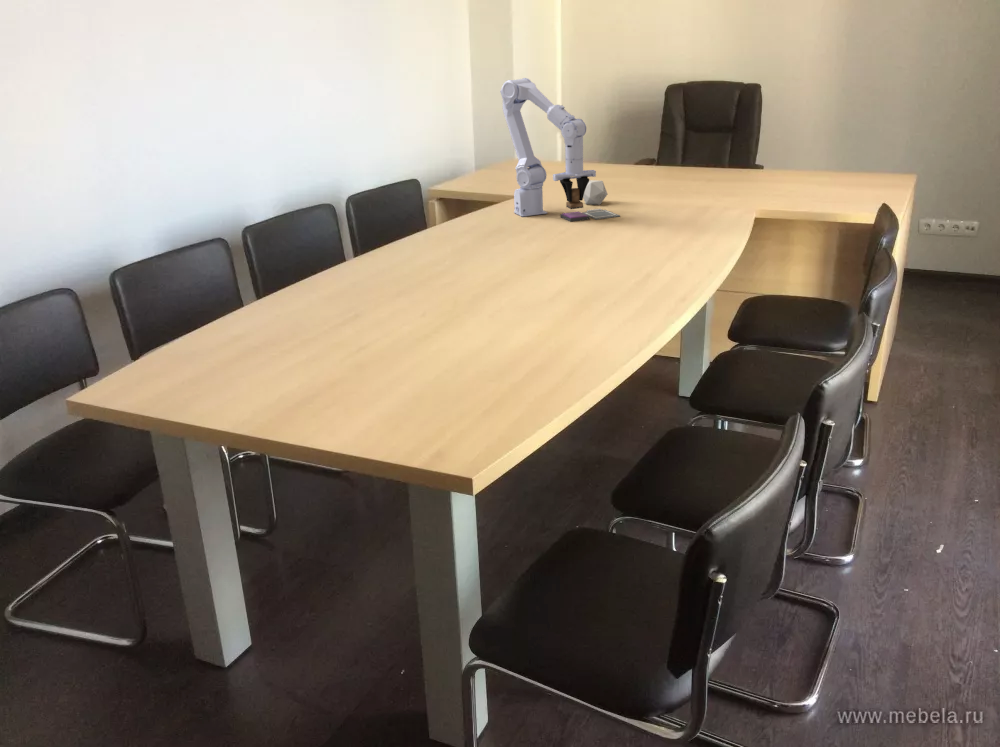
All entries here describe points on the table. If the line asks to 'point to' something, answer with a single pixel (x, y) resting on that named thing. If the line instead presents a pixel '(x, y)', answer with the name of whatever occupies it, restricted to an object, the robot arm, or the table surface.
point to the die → (594, 192)
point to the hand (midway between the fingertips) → (574, 200)
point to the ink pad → (574, 216)
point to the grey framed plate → (600, 214)
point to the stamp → (575, 200)
